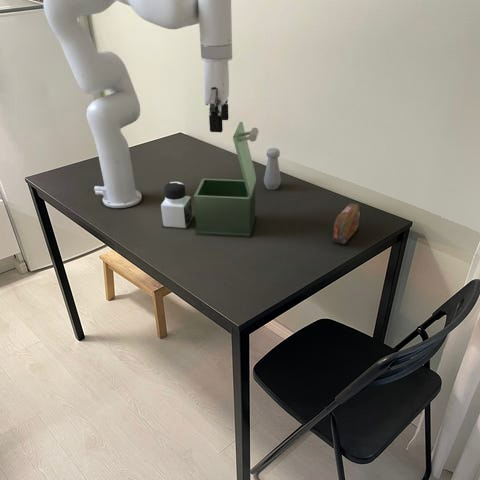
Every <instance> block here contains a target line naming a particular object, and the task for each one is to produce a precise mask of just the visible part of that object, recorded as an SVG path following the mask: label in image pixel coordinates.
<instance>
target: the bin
mask: <svg viewBox="0 0 480 480" xmlns="http://www.w3.org/2000/svg"><path fill="white" fill-rule="evenodd" d="M193 202H194V203H193V204H194V215H195V226H196V234H197V235H206V236H207V235H208V236H225V237H226V236H227V237H242V238H243V237H245V238H251V236H252V231H253V227H254V225H255V224H254V223H255V220H256V184H255V185H254V189H253V192H252V196H251V197H248V193H247V190H246V186H245V182H244V179H225V178H205V177H204V178H202V179H201V181H200V183H199V185H198V187H197V189H196V191H195V193H194V195H193Z"/></svg>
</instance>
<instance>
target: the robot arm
mask: <svg viewBox="0 0 480 480" xmlns="http://www.w3.org/2000/svg"><path fill="white" fill-rule="evenodd" d="M42 2H43V4H42V5H43V11H44V15H45V18H46V20H47V23H48V25H49V27H50V29H51V30H52V32H53V34H54V36H55V37H56V39H57V41H58V42H59V44H60V46H61V48H62V51H63V53H64V56H65V59H66V60H67V63H68V65H69V67H70V70H71V72H72V75H73V76H74V79H75V81H76V83H77V85H78V87H79V89H80V90H81V91H82V92H83V93H85V94H86V95H95V94H100V93H102V92H104V91H107V92H108V94H106V95H104V96H101V97H98V98H96V99H95V100H93V101H92V102H91V103H89V105H88V107H87V109H86V121H87V123H88V125H89V128H90V130H91V133H92V136H93V139H94V143H95V147H96V151H97V155H98V160H99V165H100V170H101V175H102V179H103V186H101V185H95V186H94V188H93V190H94V192H95V196H96V195H97V196H100V195H101V196H103V197H102V203H103V205H104V206H106V207H108V208H112V209H124V208H125V209H126V208H130V207H133V206H136V205H138V204H139V203H140V202H141V201H142V198H143V197H142V193H141V192H140V191H139V190H137V189H136V183H135V177H134V170H133V164H132V158H131V151H130V147H129V143H128V141H127V139H126V137H125V136H124V134H123V132H122V130H121V129H123V128H125V127H127V126H129V125H131V124H133V123H135V122H136V121H137V120H138V119H139V118H140V116H141V105H140V100H139V98H138V95H137V92H136V89H135V87H134V85H133V82H132V79H131V77H130V74H129V72H128V68H127V67H126V64H125V63H124V61H123V59H122V58H121V57H120V56H119V55H118V54H116V53H114V52H112V51H110V50H109V51H108V50H105V51H101V52H98V50H97V48H96V46H95V43H94V41H93V38H92V37H91V35H90V33H89V31H88V30H87V29H86V28H85V27H84V25H83V24H82V23H80V21H78V18H80V17H86V16H92V15H96V14H100V13H104V12H105V11H107V9H109V8H110V7H111V6H112V5H114V4H115V3H116V2H119V3H122V4H124V5H127V6H129V7H131V9H132V10H133V12H134V13H136V14H137V16H138V17H140V18H141V19H142V20H144V21H146V22H147V23H148V22H149V23H151V24H153V25H154V26H155V25H156V26H158V27H160V28H164V29H166V30H178V29H182V28H186V27H190V26H194V25H198V28H199V43H200V59H201V61H203V62H204V65H203V92H204V93H203V94H204V95H203V97H204V100H203V101H204V105H205V106H209V108H208V111H209V112H208V120H209V121H208V123H209V132H211V133H223V131H224V127H223V121H228V120H229V118H230V117H229V104H228V102H229V100H228V98H229V97H230V75H229V74H230V73H229V72H230V71H229V61H231V60H233V23H232V22H233V21H232V17H233V16H232V0H42Z"/></svg>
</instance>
